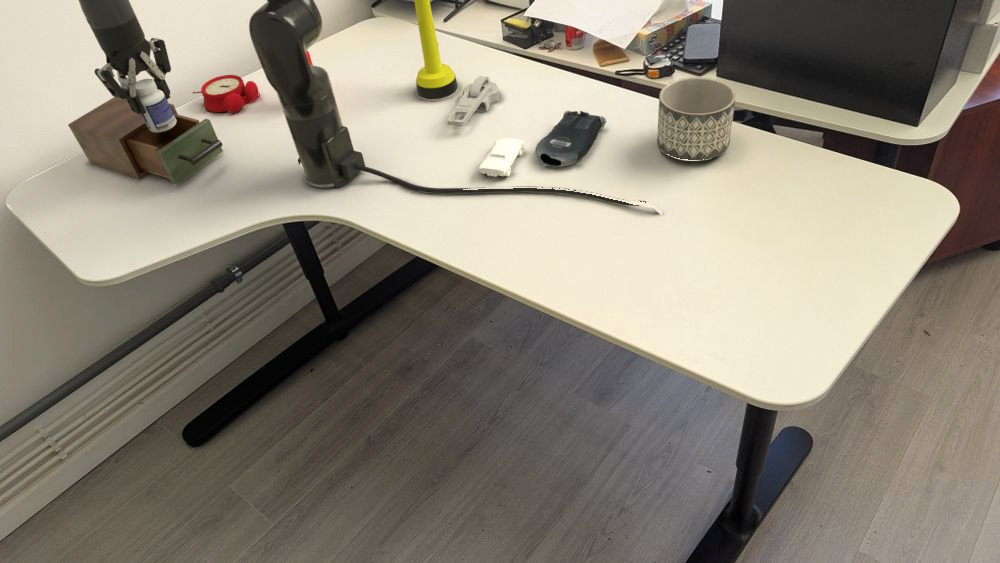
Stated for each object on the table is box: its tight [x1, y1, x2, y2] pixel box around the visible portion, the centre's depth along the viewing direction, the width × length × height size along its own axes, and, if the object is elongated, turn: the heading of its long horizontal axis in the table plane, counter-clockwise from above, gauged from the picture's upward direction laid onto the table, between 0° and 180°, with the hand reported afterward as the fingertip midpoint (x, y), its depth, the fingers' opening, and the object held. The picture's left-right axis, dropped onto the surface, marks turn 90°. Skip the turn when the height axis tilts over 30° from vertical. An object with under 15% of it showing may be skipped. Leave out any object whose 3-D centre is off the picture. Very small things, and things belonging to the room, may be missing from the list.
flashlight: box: [413, 0, 459, 102], centre depth 148 cm, size 25×9×9 cm
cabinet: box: [67, 96, 179, 180], centre depth 147 cm, size 16×14×9 cm
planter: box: [656, 76, 737, 160], centre depth 128 cm, size 13×13×10 cm
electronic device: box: [535, 110, 607, 168], centre depth 134 cm, size 9×6×15 cm
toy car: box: [477, 137, 525, 178], centre depth 133 cm, size 6×12×3 cm, turn 159°
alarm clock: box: [192, 74, 261, 114], centre depth 161 cm, size 10×6×15 cm
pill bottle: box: [135, 78, 177, 133], centre depth 136 cm, size 5×5×9 cm
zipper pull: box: [447, 76, 500, 127], centre depth 147 cm, size 8×18×4 cm, turn 161°
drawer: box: [124, 113, 224, 186], centre depth 141 cm, size 19×12×7 cm, turn 60°
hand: (153, 105), depth 136 cm, fingers closed on pill bottle, 5 cm apart
